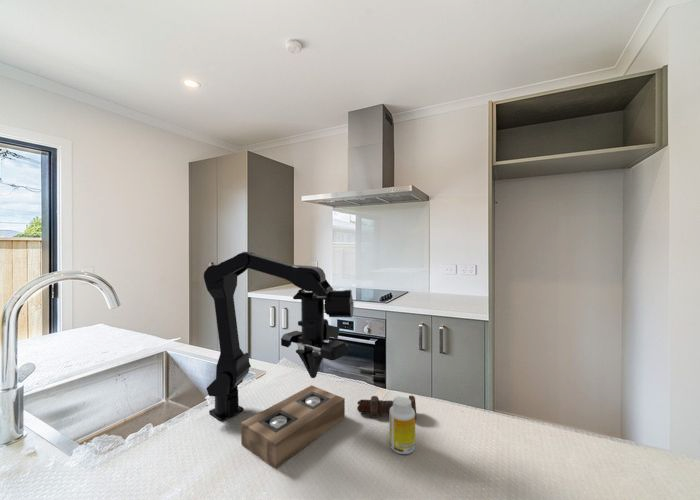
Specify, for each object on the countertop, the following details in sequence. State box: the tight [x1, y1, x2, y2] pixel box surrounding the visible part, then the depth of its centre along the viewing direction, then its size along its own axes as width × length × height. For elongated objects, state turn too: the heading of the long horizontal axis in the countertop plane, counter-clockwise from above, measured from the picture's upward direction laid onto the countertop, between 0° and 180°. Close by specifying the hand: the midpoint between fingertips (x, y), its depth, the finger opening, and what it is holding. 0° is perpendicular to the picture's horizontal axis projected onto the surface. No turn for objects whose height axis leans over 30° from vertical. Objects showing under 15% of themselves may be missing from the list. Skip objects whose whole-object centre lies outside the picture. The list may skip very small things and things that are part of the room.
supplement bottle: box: [388, 395, 416, 455], centre depth 64 cm, size 6×6×10 cm
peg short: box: [305, 396, 320, 406], centre depth 75 cm, size 4×4×5 cm
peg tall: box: [270, 416, 287, 429], centre depth 66 cm, size 4×4×5 cm
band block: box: [240, 385, 346, 470], centre depth 71 cm, size 12×22×5 cm, turn 142°
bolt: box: [356, 395, 417, 421], centre depth 77 cm, size 6×5×15 cm
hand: (313, 377), depth 75 cm, fingers closed
